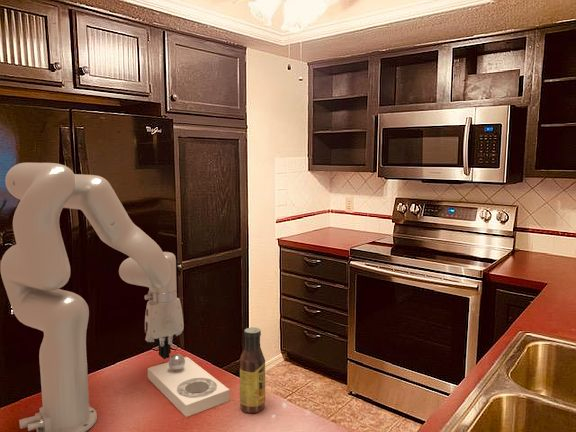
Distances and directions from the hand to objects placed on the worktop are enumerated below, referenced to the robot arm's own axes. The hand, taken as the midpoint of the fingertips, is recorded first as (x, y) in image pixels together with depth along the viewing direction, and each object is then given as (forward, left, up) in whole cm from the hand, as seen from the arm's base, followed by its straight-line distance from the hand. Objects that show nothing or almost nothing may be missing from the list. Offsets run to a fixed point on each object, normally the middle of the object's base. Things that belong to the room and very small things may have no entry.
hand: (164, 356), depth 132 cm
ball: (0, -8, +1) cm, 8 cm away
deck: (0, -14, -4) cm, 15 cm away
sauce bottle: (+9, -32, -4) cm, 33 cm away
